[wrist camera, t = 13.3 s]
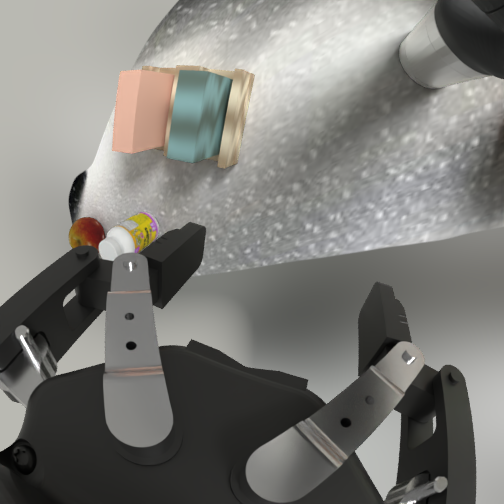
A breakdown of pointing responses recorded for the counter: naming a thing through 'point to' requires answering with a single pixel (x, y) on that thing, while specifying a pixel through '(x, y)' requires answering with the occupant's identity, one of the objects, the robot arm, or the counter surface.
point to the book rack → (206, 113)
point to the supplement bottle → (129, 236)
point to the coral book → (141, 110)
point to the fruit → (86, 233)
